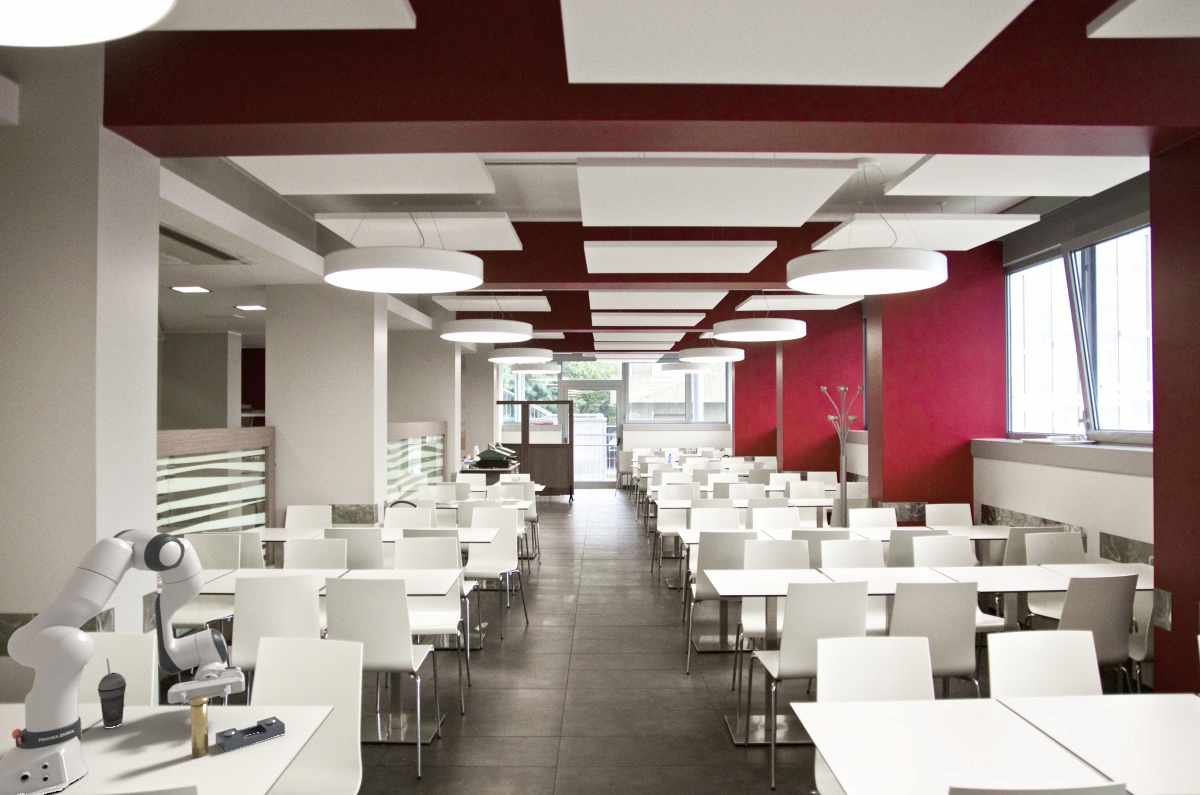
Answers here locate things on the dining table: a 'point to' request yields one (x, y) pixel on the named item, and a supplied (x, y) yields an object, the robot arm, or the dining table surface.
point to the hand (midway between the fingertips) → (204, 697)
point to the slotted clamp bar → (236, 737)
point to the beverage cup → (112, 698)
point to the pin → (199, 725)
